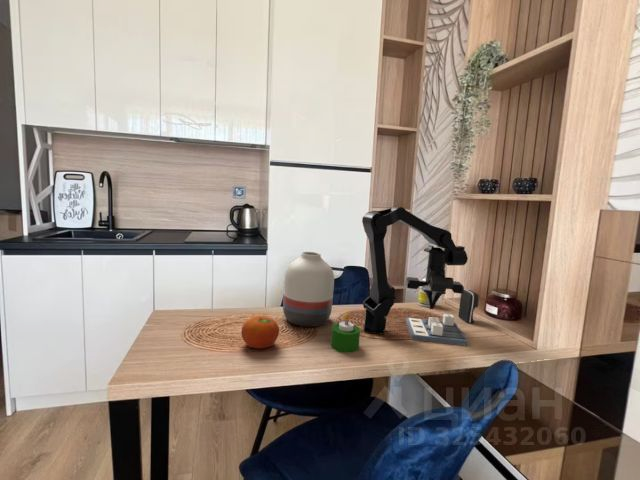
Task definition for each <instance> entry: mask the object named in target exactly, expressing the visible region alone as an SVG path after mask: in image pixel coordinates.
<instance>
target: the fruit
mask: <svg viewBox="0 0 640 480" xmlns="http://www.w3.org/2000/svg"><path fill="white" fill-rule="evenodd" d="M279 328H280V327H279V325H278V323H277V321H275V320H274V318H272V317H270V316H266V315H256V316H255V315H254V316H252V317H250V318H249V319H247V320H246V321H245V322H244V323H243V325H242V327H241V338H242V340H243V342H244V343H245V344H246V345H247V346H248V347H250V348H253V349H267V348H269V347H272V346H273V345H274V343H275V342H276V341H277V339H278V337H279V335H280V329H279Z"/></svg>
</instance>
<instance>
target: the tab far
mask: <svg viewBox="0 0 640 480" xmlns="http://www.w3.org/2000/svg"><path fill="white" fill-rule="evenodd" d="M442 321H443V323H444V325H449V326H454V322H455V316H454V315H453V314H450V313H443V317H442Z"/></svg>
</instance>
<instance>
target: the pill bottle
mask: <svg viewBox="0 0 640 480" xmlns="http://www.w3.org/2000/svg"><path fill="white" fill-rule="evenodd" d="M421 281H426V278H422V280H421ZM428 285H430V284H428ZM418 291H419V294H418V302H417V303H418V305H419V306H421V307H424V308H430V307H429V303H428V298H427V295H426V292H424V291H423V290H422V286H419V290H418ZM432 296H433V294H432Z"/></svg>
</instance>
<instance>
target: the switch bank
mask: <svg viewBox="0 0 640 480" xmlns="http://www.w3.org/2000/svg"><path fill="white" fill-rule="evenodd" d="M428 320H429V319H424V318H414V317H405V323H406V327H407V330H408V332H410V333H409V336H410V335H411V336H410V338H411V340H412V339H413V341H421V340H422V342H423V341H424V342H429V341H430V343H431V342H432V343H440V344H448V345H456V346H457V345H458V346H468V340H467V337H466V335H465V334H464V333H463V331H462V330H461V329H460V327H459V326H458V324H457V323H456V321H454V326H449V325H444V323H443V320H442V321H441V320H439V321H440V323H441V324H442V326H443V332H442V336H441V335H432V333H431V329H429V327H428Z"/></svg>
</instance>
